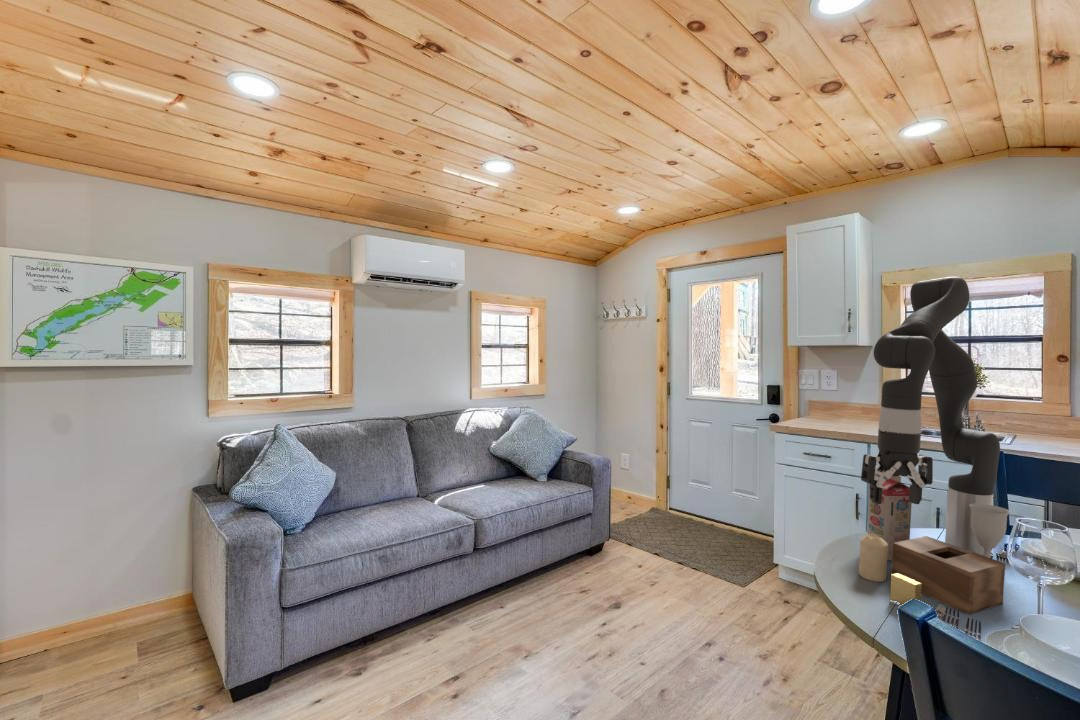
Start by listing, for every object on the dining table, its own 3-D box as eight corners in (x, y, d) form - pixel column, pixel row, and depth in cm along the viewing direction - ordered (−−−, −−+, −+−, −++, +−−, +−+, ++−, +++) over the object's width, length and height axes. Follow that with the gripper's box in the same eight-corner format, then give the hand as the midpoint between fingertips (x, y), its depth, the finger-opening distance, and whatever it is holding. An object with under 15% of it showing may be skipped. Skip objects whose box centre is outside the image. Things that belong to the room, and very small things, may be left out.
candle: (890, 583, 121) (892, 541, 120) (864, 580, 122) (866, 539, 122) (879, 572, 126) (882, 532, 126) (855, 570, 128) (857, 530, 127)
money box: (924, 572, 127) (926, 536, 127) (1002, 604, 112) (1005, 563, 112) (891, 580, 123) (893, 542, 122) (968, 614, 108) (970, 572, 107)
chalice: (996, 580, 123) (1001, 505, 122) (1011, 593, 117) (1017, 515, 116) (959, 575, 126) (963, 502, 125) (972, 587, 119) (977, 511, 118)
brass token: (896, 599, 114) (897, 573, 113) (920, 611, 109) (921, 583, 109) (890, 601, 113) (891, 574, 113) (913, 613, 108) (915, 585, 108)
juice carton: (890, 549, 140) (894, 469, 139) (908, 560, 133) (912, 476, 132) (866, 549, 140) (870, 469, 139) (883, 560, 133) (887, 476, 132)
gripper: (917, 426, 116) (913, 497, 116) (855, 425, 115) (852, 497, 116) (945, 432, 108) (940, 509, 109) (879, 431, 107) (875, 508, 108)
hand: (895, 503), depth 112 cm, fingers open, 8 cm apart
